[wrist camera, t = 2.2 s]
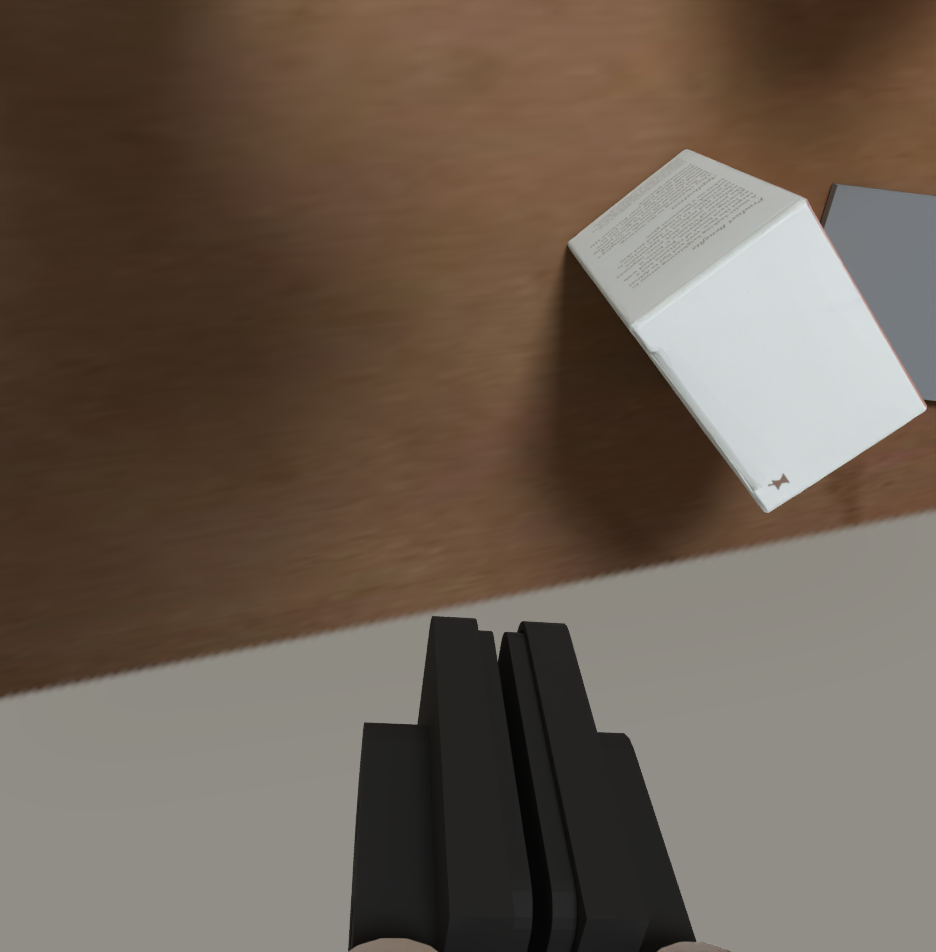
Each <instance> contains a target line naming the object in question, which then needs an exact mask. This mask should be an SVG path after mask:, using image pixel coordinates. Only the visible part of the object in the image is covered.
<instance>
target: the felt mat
mask: <svg viewBox="0 0 936 952" xmlns="http://www.w3.org/2000/svg"><path fill="white" fill-rule="evenodd" d="M820 224H821V225H822V227H823V229H824V230H825V232H826V234H827V235H828V237H829V239H830V240H831V242H832V244H833V246H834V247H835V249H836V251H837V253H838V254H839V256H840V258H841V259H842V261H843V263H844V265H845V266H846V268H847V270H848V272H849V273H850V275H851V277H852V279H853V280H854V282H855V284H856V285H857V287H858V289H859V290H860V292H861V294H862V296H863V297H864V299H865V301H866V302H867V304H868V306H869V308H870V309H871V311H872V313H873V315H874V316H875V318H876V320H877V321H878V323H879V325H880V326H881V328H882V330H883V332H884V333H885V335H886V337H887V339H888V340H889V342H890V344H891V346H892V347H893V349H894V351H895V352H896V354H897V356H898V357H899V359H900V361H901V363H902V364H903V366H904V368H905V369H906V371H907V373H908V374H909V376H910V378H911V380H912V381H913V383H914V385H915V386H916V388H917V390H918V392H919V393H920V395H921V397H922V399H923V400H933V401H936V196H931V195H923V194H914V193H906V192H898V191H890V190H882V189H874V188H866V187H858V186H850V185H842V184H834V183H833V184H832V187H831V191H830V194H829V197H828V200H827V203H826V207H825V210H824V213H823V216H822V220H821V223H820Z"/></svg>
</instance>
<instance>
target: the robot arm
mask: <svg viewBox="0 0 936 952" xmlns="http://www.w3.org/2000/svg"><path fill="white" fill-rule="evenodd" d="M348 952H731V951H729V950H727V949H724V948H721V947H718V946H714V945H711V944H707V943H705V942H696V939H695V936H694V933H693V930H692V927H691V924H690V921H689V917H688V914H687V911H686V908H685V905H684V902H683V899H682V896H681V893H680V890H679V887H678V884H677V881H676V877H675V874H674V871H673V868H672V865H671V862H670V859H669V856H668V853H667V850H666V847H665V843H664V840H663V837H662V834H661V831H660V828H659V825H658V822H657V819H656V816H655V813H654V810H653V806H652V803H651V800H650V797H649V794H648V791H647V788H646V785H645V782H644V779H643V776H642V773H641V769H640V767H639V763H638V760H637V757H636V754H635V751H634V748H633V746H632V744H631V741H630V739H629V738H628V737H627V736H626V735H625V734H624V733H603V732H597V730H596V726H595V723H594V720H593V716H592V712H591V709H590V705H589V701H588V698H587V694H586V691H585V687H584V684H583V680H582V676H581V673H580V669H579V666H578V662H577V658H576V655H575V651H574V648H573V644H572V641H571V637H570V634H569V630H568V628H567V626H566V625H565V624H561V623H543V622H527V621H523V622H521V623H520V626H519V628H518V632H517V633H515V632H505V633H504V635H503V637H502V642H501V647H500V653H499V659H498V662H497V655H496V649H495V643H494V636H493V632H492V631H479V630H478V625H477V620H476V619H474V618H457V617H439V616H432V619H431V623H430V630H429V638H428V645H427V654H426V661H425V669H424V677H423V685H422V693H421V701H420V709H419V717H418V725H411V724H388V723H364V729H363V738H362V750H361V761H360V773H359V787H358V800H357V813H356V828H355V846H354V861H353V880H352V896H351V913H350V930H349V948H348Z"/></svg>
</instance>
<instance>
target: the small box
mask: <svg viewBox="0 0 936 952" xmlns="http://www.w3.org/2000/svg"><path fill="white" fill-rule="evenodd" d="M568 247H569V249H570V250H571V252H572V253H573V254H574V256H575V257H576V259H577V260H578V262H579V263H580V264H581V266H582V267H583V268H584V270H585V271H586V272H587V274H588V275H589V276H590V278H591V279H592V280H593V282H594V283H595V284H596V286H597V287H598V288H599V290H600V291H601V293H602V294H603V295H604V297H605V298H606V299H607V301H608V302H609V304H610V305H611V306H612V308H613V309H614V310H615V312H616V313H617V315H618V316H619V317H620V319H621V320H622V321H623V323H624V324H625V325H626V327H627V328H628V330H629V331H630V332H631V334H632V335H633V336H634V337H635V338H636V340H637V341H638V342H639V344H640V345H641V346H642V348H643V349H644V351H645V352H646V353H647V355H648V356H649V357H650V359H651V360H652V361H653V363H654V364H655V366H656V367H657V368H658V370H659V371H660V372H661V374H662V375H663V377H664V378H665V379H666V381H667V382H668V383H669V385H670V386H671V387H672V389H673V390H674V392H675V393H676V394H677V396H678V397H679V398H680V400H681V401H682V403H683V404H684V405H685V407H686V408H687V409H688V411H689V412H690V413H691V415H692V416H693V418H694V419H695V420H696V422H697V423H698V425H699V426H700V427H701V429H702V430H703V431H704V433H705V434H706V435H707V437H708V438H709V439H710V441H711V442H712V443H713V445H714V446H715V447H716V449H717V450H718V451H719V453H720V454H721V455H722V457H723V458H724V459H725V461H726V462H727V463H728V465H729V466H730V467H731V469H732V470H733V471H734V473H735V474H736V475H737V477H738V478H739V479H740V481H741V482H742V483H743V485H744V486H745V487H746V489H747V490H748V491H749V493H750V494H751V495H752V497H753V498H754V499H755V501H756V502H757V504H758V505H759V506H760V508H761V509H762V510H763V512H765V513H769V512H771V511H772V510H774V509H775V508H777V507H778V506H780V505H782V504H783V503H785V502H786V501H788V500H789V499H791V498H792V497H794V496H796V495H797V494H799V493H801V492H802V491H804V490H805V489H806V488H808V487H810V486H811V485H813V484H814V483H816V482H817V481H819V480H820V479H822V478H824V477H825V476H827V475H828V474H830V473H831V472H833V471H834V470H836V469H837V468H839V467H840V466H842V465H843V464H845V463H847V462H848V461H850V460H851V459H853V458H854V457H856V456H857V455H859V454H860V453H862V452H863V451H865V450H866V449H868V448H870V447H871V446H873V445H874V444H876V443H877V442H879V441H880V440H882V439H883V438H885V437H887V436H888V435H890V434H891V433H893V432H894V431H896V430H897V429H899V428H900V427H902V426H903V425H905V424H906V423H908V422H909V421H910V420H912V419H913V418H915V417H916V416H918V415H920V414H921V413H923V412H924V411H925V410H926V408H927V405H926V403H925V402H924V400H923V399H922V397H921V395H920V393H919V392H918V390H917V388H916V386H915V385H914V383H913V381H912V380H911V378H910V376H909V374H908V373H907V371H906V369H905V368H904V366H903V364H902V363H901V361H900V359H899V357H898V356H897V354H896V352H895V351H894V349H893V347H892V346H891V344H890V342H889V340H888V339H887V337H886V335H885V333H884V332H883V330H882V328H881V326H880V325H879V323H878V321H877V320H876V318H875V316H874V315H873V313H872V311H871V309H870V308H869V306H868V304H867V302H866V301H865V299H864V297H863V296H862V294H861V292H860V290H859V289H858V287H857V285H856V284H855V282H854V280H853V279H852V277H851V275H850V273H849V272H848V270H847V268H846V266H845V265H844V263H843V261H842V259H841V258H840V256H839V254H838V253H837V251H836V249H835V247H834V246H833V244H832V242H831V240H830V239H829V237H828V235H827V234H826V232H825V230H824V229H823V227H822V225H821V224H820V222H819V220H818V218H817V217H816V215H815V213H814V211H813V210H812V208H811V206H810V204H809V202H808V200H807V199H806V198H804V197H802V196H800V195H797V194H794V193H792V192H790V191H787V190H785V189H783V188H780V187H777V186H775V185H773V184H770V183H768V182H765V181H763V180H761V179H759V178H756V177H753V176H751V175H749V174H746V173H743V172H741V171H738V170H736V169H734V168H731V167H729V166H727V165H725V164H722V163H720V162H717V161H715V160H712V159H710V158H707V157H705V156H702V155H700V154H698V153H695V152H693V151H691V150H688V149H686V150H684V151H682V152H681V153H680V154H678V155H677V156H676V157H674V158H673V159H672V160H671V161H669V162H668V163H667V164H665V165H664V166H663V167H662V168H660V169H659V170H658V171H657V172H655V173H654V174H653V175H651V176H650V177H649V178H648V179H646V180H645V181H644V182H643V183H641V184H640V185H639V186H638V187H636V188H635V189H634V190H633V191H631V192H630V193H629V194H627V195H626V196H625V197H624V198H622V199H621V200H620V201H619V202H617V203H616V204H615V205H614V206H612V207H611V208H610V209H609V210H607V211H606V212H605V213H604V214H602V215H601V216H600V217H599V218H597V219H596V220H595V221H594V222H592V223H591V224H590V225H589V226H587V227H586V228H585V229H584V230H582V231H581V232H580V233H579V234H578V235H576V236H575V237H574V238H573V239H571V240H570V241H569V242H568Z"/></svg>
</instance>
